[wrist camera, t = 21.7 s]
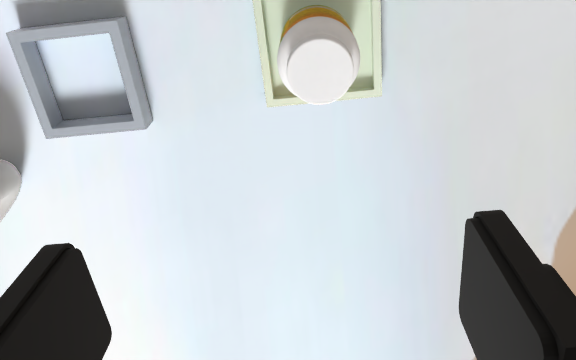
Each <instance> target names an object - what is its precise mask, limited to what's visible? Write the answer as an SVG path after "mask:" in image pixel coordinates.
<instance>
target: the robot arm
mask: <svg viewBox="0 0 576 360" xmlns="http://www.w3.org/2000/svg"><path fill="white" fill-rule="evenodd" d="M459 314H460V318H461V322H462V324H463V327H464V329H465V331H466V334H467V336H468V339H469V341H470V343H471V346H472V348H473V351H474V353H475V356H476V358H477V360H576V296H575V295H574V294H573V292H572V291H571V290H570V288H569V287H568V286H567V284H566V283H565V282H564V281H563V279H562V278H561V277H560V275H559V274H558V273H557V271H556V270H555V269H554V268H553V267H552V266H551V265H548V264H542V263H541V262H540V260H539V259H538V258H537V256H536V255H535V253H534V252H533V251H532V249H531V248H530V247H529V245H528V244H527V243H526V241H525V240H524V238H523V237H522V236H521V234H520V233H519V232H518V230H517V229H516V228H515V226H514V225H513V224H512V222H511V221H510V219H509V218H508V217H507V215H506V214H505V213H504V212H503V211H502V210H493V211H480V212H476V213H475V214H474V216H473V218H470V219H467V220H466V224H465V236H464V248H463V261H462V273H461V285H460V297H459ZM111 335H112V332H111V327H110V324H109V321H108V319H107V316H106V314H105V311H104V309H103V306H102V303H101V301H100V298H99V296H98V293H97V291H96V288H95V285H94V283H93V280H92V278H91V275H90V273H89V270H88V268H87V265H86V262H85V260H84V257H83V255H82V253H81V251H80V250H79V249H77V248H76V249H75V248H74V246H73V245H72V244H69V243H65V244H52V245H45V246H44V247H43V248H41V250H40V251H39V252H38V253H37V254H36V256H35V257H34V258H33V259H32V260H31V262H30V263H29V264H28V265H27V266H26V268H25V269H24V270H23V271H22V272H21V274H20V275H19V276H18V277H17V278H16V280H15V281H14V282H13V283H12V284H11V286H10V287H9V288H8V289H7V290H6V291H5V293H4V294H3V295H2V296H1V297H0V360H102V358H103V356H104V354H105V352H106V350H107V348H108V346H109V344H110V341H111Z"/></svg>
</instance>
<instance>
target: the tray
mask: <svg viewBox="0 0 576 360" xmlns="http://www.w3.org/2000/svg"><path fill="white" fill-rule="evenodd" d="M252 1H253V8H254V15H255V23H256V30H257V37H258V45H259V52H260V59H261V67H262V74H263V81H264V89H265V96H266V103H267V107H277V106H287V105H298V104H308V103H307V102H305V101H303V100H302V99H300V98H299V97H297V96H296V95H294V94H293V93H292V92H290V91H289V90H288V88H287V87H286V86H285V85H284V83H283V82H282V80H281V77H280V75H279V72H278V66H277V55H278V49H279V44H280V39H281V34H282V30H283V28H284V25H285V23H286V22H287V20H288V19H289V18H290V16H291V15H292V14H293V13H295V12H296V11H297V10H299V9H301V8H303V7H305V6H309V5H316V4H317V5H325V6H328V7H331V8H333V9H335V10H336V11H337V12H339V13H340V14H341V15H342V16H343V17H344V19H345V20H346V21H347V23H348V25H349V27H350V29H351V31H352V33H353V35H354V36H355V38H356V41H357V43H358V46H359V50H360V67H359V71H358V74H357V76H356V79H355V80H354V82H353V84H352V85H351V86H350V87H349V89H348V90H347V92H346V93H345V94H344V95H343V96H342V97H341V98H339V99H338V100H336V101H339V100H349V99H360V98H370V97H380V96H382V67H381V4H380V0H252Z"/></svg>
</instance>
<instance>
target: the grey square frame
mask: <svg viewBox="0 0 576 360" xmlns="http://www.w3.org/2000/svg"><path fill="white" fill-rule="evenodd" d="M103 33H110V37H111V41H112V44H113V48H114V51H115V55H116V58H117V62H118V66H119V69H120V73H121V76H122V80H123V83H124V87H125V91H126V94H127V98H128V101H129V105H130V108H131V112H132V114H124V115H114V116H104V117H94V118H83V119H73V120H63V119H62V116H61V113H60V110H59V108H58V105H57V102H56V99H55V96H54V94H53V91H52V88H51V85H50V82H49V79H48V77H47V74H46V71H45V68H44V65H43V63H42V60H41V57H40V54H39V51H38V48H37V46H36V43H35V41H40V40H49V39H58V38H67V37H76V36H85V35H94V34H103ZM6 35H7V37H8V40H9V43H10V45H11V48H12V50H13V53H14V56H15V58H16V61H17V64H18V66H19V69H20V71H21V74H22V77H23V79H24V82H25V85H26V87H27V90H28V93H29V95H30V98H31V100H32V103H33V106H34V108H35V111H36V114H37V116H38V119H39V121H40V124H41V127H42V129H43V132H44V135H45V137H46V139H49V138H60V137H71V136H81V135H92V134H102V133H113V132H123V131H134V130H144V129H147V128H148V126H149V125H150V124H151V123H152V121H153V119H152V115H151V111H150V107H149V103H148V100H147V96H146V92H145V88H144V84H143V80H142V76H141V73H140V69H139V65H138V61H137V57H136V53H135V50H134V46H133V42H132V38H131V34H130V30H129V26H128V23H127V19H126V16H124V17H116V18H107V19H98V20H89V21H80V22H72V23H63V24H54V25H45V26H37V27H28V28H20V29H17V30H14V31H11V32H8V33H6Z"/></svg>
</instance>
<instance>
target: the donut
mask: <svg viewBox="0 0 576 360" xmlns="http://www.w3.org/2000/svg"><path fill="white" fill-rule="evenodd" d="M21 183H22V178H21V174H20V173H19V171H18V170H17V168H16V167H15V166H14V165H13V164H12V163H10V162H8V161H6V160H1V159H0V222H1V221H2V219H3V218H4V217H5V215H6V214H7V212H8V211H9V210H10V208H11V206H12V205H13V203H14V202H15V200H16V198H17V196H18V194H19V192H20V188H21Z"/></svg>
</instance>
